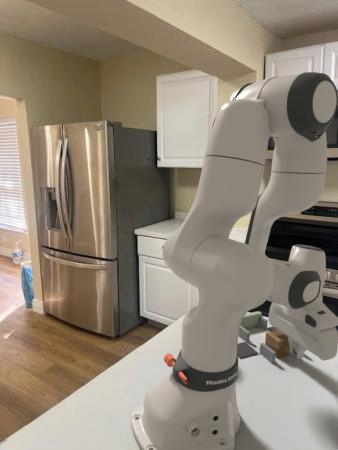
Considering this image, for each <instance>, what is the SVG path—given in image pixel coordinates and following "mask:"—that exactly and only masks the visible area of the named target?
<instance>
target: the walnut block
mask: <svg viewBox="0 0 338 450" xmlns="http://www.w3.org/2000/svg"><path fill="white" fill-rule="evenodd" d="M264 344H266V345H267V346H268V347H269V348H271V349H272V350H273V351H275V352H276V356H275V359H278V358H281V357H285V356H288V355H292V354H291V353H290V351H291V347H290V344H289V341H288V336H286V335H285V334H283V333H282V332H281V331H279V330H275V331H271V330H270V331H266V332H265V342H264Z"/></svg>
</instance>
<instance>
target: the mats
mask: <svg viewBox="0 0 338 450" xmlns="http://www.w3.org/2000/svg"><path fill="white" fill-rule="evenodd" d="M267 329H268V330H270V332H271V331H275V330H278V329H276V328H275V327H273V326H269V327H267ZM255 355H259V352H258V351H257V350H256V349H254V347H252V346H251V345H250V344H249V343H248V342H245V341H243V342H238V344H237V356H238V359H243V358H249V357H251V356H255Z"/></svg>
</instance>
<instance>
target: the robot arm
mask: <svg viewBox="0 0 338 450" xmlns="http://www.w3.org/2000/svg"><path fill="white" fill-rule="evenodd" d="M337 89H338V88H337V86H336V85H335V82H333V80H332V79H331V77H330V76H329V75H328V74H326V73H323V72H313V71H309V72H308V71H307V72H306V71H305V72H302V73H299V74H290V75H284V76H283V75H282V76H273V77H268V78H265V79H261V80H259V81H256V82H249V83H246V84H244V85H242V86H240V87H239V88H237V89H236V90H234V92H232V94H231V95H230V97H229V98H228V101H227V102H226V103H224V104H222V106H221V107H220V108H219V110H218V111H217V115H216V116H215V120H214V122H213V125H212V127H211V130H210V132H209V133H210V134H209V137H208V140H207V144H206V148H205V153H204V157H203V163H202V166H201V173H200V178H199V182H198V185H197V189H196V190H197V191H196V195H195V197H194V200H193V202H192V205H191V208H190V210H189V211H188V214H187V215H186V216H185V219H184V221H182V223H181V225H180V226H179V227H178V228H177V229H176V230H174V231H172V232H171V233H170V235H168V236H167V238H166V240H165V242H164V244H163V248H162V258H163V261H164V264H165V265H166V266H167V267H168V268H169V270H170V271H171V272H172V273H173V274H175V276H176V277H177V278H179V279H181V280H183V281H184V282H186V283H188V284H189V285H191V286H193V287H195V288H196V289H197V291H198V295H199V296H198V303H197V305H196V306H194V307H192V308H191V309H190V310H189V311H187V312H186V313H185V314H184V315H183V318H182V321H181V322H182V323H181V345H180V346H181V349H180V351H179V352H178V355H177V357H176V358H175V357H174V356H173V354H172V353H166V354H165V356H164V357H163V362H164V363H165V364H166V365H167V367H169V368H172V369H171V370H170V371H169V372H167V373H166V374H165V375H164V376H163V377H162V378H161V379H160V380H158V381H157V382H156V383H154V384H153V385H152V386H151V387H150V388H149V389H147V391H146V393H145V395H144V401H143V404H139V406H138V405H137V406H136V407H135V408H134V409H133V411H132V415H131V428H132V433H133V436H134V439H135V440H136V442H137V445H138V446H139V448H140V450H235V448H236V438H235V437H236V436H237V433H238V431H239V429H240V426H241V415H240V411H239V408H238V407H239V406H238V401H237V389H236V381H237V379H238V375H239V357H238V356H237V344H238V343H239V328H240V324H241V322H242V319H243V317H244V316H245V314H248V312H249V311H251V310H254V309H257V308H258V307H260V306H261V305H263V304H264V303H265V302H266V301H267V302H270V303H271V304H270V307H269V313H268V317H267V318H268V319H267V320H268V322H269V325H270V326H271V327H275V328H276V329H278V330H279V331H281V332H282V333H283V334H285V335H286V336H288V341H289V344H290V347H291V351H290V353H291V354H290V355H293V356H294V357H296V358H297V359H298V360H301V359H303V358H304V356H305V352H306V351H308V352H310V353H311V354H313V355H314V356H316V357H317V358H319V359H320V360H321V361H324V362H325V361H328V360H332V359H334V358H335V357H336V356H337V353H338V329H337V328H336V327H337V326H338V316H337V315H336V314H334V312H332V310H331V309H329V307H327V306H326V304H325V303H324V302H323V297H324V296H323V291H322V290H323V288H324V286H325V283H326V282H325V280H326V271H327V270H326V269H327V268H326V267H327V265H326V264H327V263H326V261H327V260H326V259H327V258H326V253H325V251H324V250H323V249H322V248H320V247H316V246H312V245H305V244H298V243H297V244H294V245H292V247H291V250H290V254H289V258H288V261H287V262H281V261H276V260H273V259H271V258H270V257H268V256H267V255H266V249H267V244H268V242H269V237H270V233H271V228H272V226H273V224H274V222H275V221H276V220H278V219H280V218H282V217H285V216H289V215H290V216H291V215H294V214H297V213H301V212H304V211H306V210H308V209H310V208H313V207H314V205H315V206H316V203H318V202H319V201H320V199H321V198H322V195H323V193H324V188H325V184H326V176H327V175H326V174H327V166H328V140H327V139H328V138H327V132H326V130H327V129H328V128H329V126H330V125H331V123H332V122H333V120H334V119H335V116H336V113H337V110H338V90H337ZM271 137H272V140H273V142H274V149H273V155H272V159H271V160H272V161H271V170H270V171H271V172H270V173H271V174H270V178H269V181H268V184H267V186H266V188H265V190H264V191H263V192H262V193H260V190H261V189H260V188H261V185H262V181H263V175H264V172H265V171H264V170H265V166H266V160H267V156H268V155H267V154H268V148H269V147H268V146H269V140H270V138H271ZM249 214H251V215H250V218H249V223H248V227H247V230H246V231H247V232H246V236H245V240H244V242H241V241H238V240H234V239H231V238H229V237H230V235H231V232H232V230H233V228H234V226H235V225H236V223H237V222H238V221H239V220H241V218H243V217H246V216H247V215H249ZM297 343H298V344H299V346H297ZM298 347H299V348H300V349H299V348H298Z"/></svg>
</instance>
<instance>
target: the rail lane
mask: <svg viewBox="0 0 338 450" xmlns="http://www.w3.org/2000/svg"><path fill="white" fill-rule="evenodd" d="M262 313H263V312H261V311H259V310H258V311H253V312H249V313H248V312H247V313H246V314H245V316H244V317H243V319H242V322H241V324H240V328H239V336H238V338H240V339H242V340H243V342H246V343H249V342H250V338H251V337H250V333H251V332H250V331H249V330H247V328H251V327H256V326H259V327H260V328H262V329H263V330H267V329H268V322H269V320H268V319H267V318H265V317H264V316H263V314H262ZM297 346H299V344H298V343H297ZM298 348H299V347H298ZM299 349H300V348H299ZM259 354H260V355H261V356H263V358H264V359H266V360H267V361H268V362H270V364H275V363H276V357H275V356H276V352H275V351H273V350H272V349H271V348H269V347H268V346H267V345H266V344H265V342H261V343H260V345H259Z"/></svg>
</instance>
